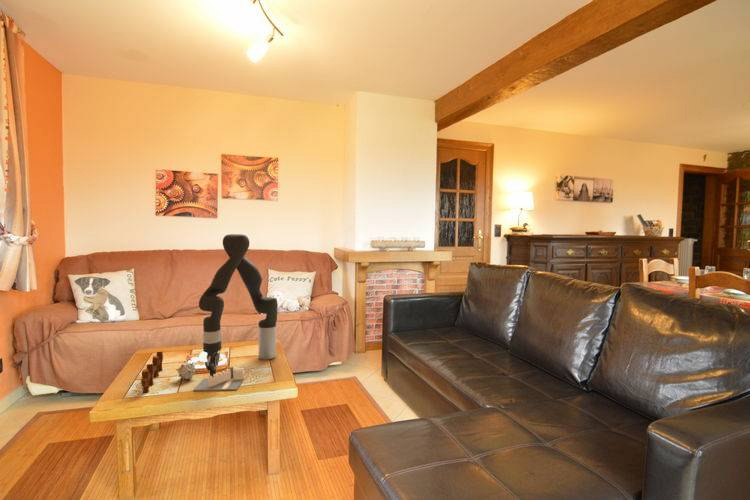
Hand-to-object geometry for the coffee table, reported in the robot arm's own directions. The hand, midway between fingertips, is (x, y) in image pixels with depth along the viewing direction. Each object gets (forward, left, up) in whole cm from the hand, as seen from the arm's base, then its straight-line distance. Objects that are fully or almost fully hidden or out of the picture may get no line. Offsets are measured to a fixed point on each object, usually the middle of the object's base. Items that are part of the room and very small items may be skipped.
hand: (213, 377), depth 176 cm
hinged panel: (-1, +3, -2) cm, 4 cm away
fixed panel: (-6, +10, -4) cm, 12 cm away
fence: (-7, -29, -4) cm, 30 cm away
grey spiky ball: (-8, -14, -4) cm, 17 cm away
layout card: (0, +3, -4) cm, 5 cm away
